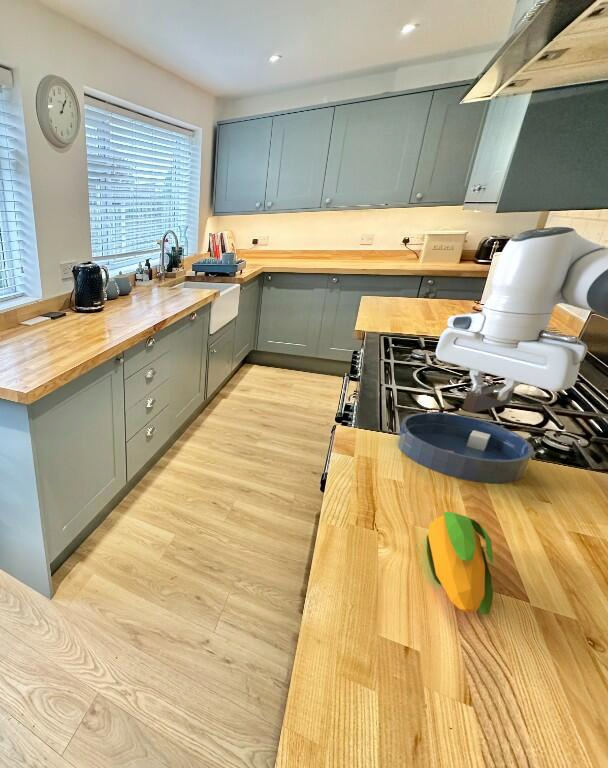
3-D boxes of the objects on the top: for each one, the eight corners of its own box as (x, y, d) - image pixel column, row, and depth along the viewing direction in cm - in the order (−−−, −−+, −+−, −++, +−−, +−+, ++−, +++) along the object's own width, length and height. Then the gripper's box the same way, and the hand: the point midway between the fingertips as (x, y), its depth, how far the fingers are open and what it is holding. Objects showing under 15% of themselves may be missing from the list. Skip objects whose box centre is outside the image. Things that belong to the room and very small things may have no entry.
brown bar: (497, 399, 82) (502, 383, 81) (509, 403, 81) (515, 387, 79) (461, 408, 80) (467, 391, 78) (473, 412, 78) (478, 395, 77)
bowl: (489, 437, 97) (496, 416, 95) (551, 492, 78) (561, 467, 76) (384, 429, 103) (388, 409, 101) (417, 477, 85) (424, 454, 82)
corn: (489, 505, 65) (519, 599, 49) (479, 544, 67) (505, 645, 52) (429, 493, 69) (439, 577, 53) (422, 531, 71) (429, 621, 56)
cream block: (486, 446, 93) (490, 434, 92) (483, 451, 91) (488, 439, 90) (469, 441, 95) (473, 430, 94) (466, 446, 93) (470, 434, 92)
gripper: (603, 336, 66) (570, 414, 71) (462, 312, 84) (443, 376, 89) (579, 341, 64) (547, 421, 69) (439, 316, 82) (422, 380, 87)
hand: (487, 395), depth 79 cm, fingers closed on brown bar, 2 cm apart
